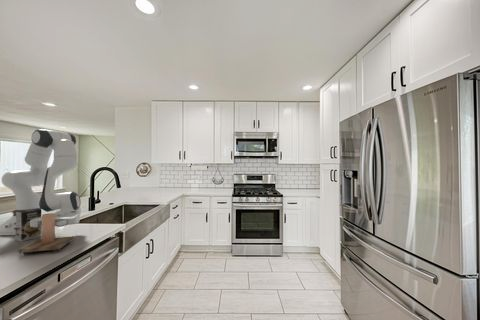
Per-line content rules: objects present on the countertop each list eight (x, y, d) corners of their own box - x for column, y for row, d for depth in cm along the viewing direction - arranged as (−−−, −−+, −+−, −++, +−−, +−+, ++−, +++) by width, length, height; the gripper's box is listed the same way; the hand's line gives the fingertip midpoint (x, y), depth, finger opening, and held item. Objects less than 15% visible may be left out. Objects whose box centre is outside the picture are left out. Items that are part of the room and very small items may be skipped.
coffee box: (21, 241, 119) (22, 212, 119) (14, 240, 121) (15, 211, 121) (41, 236, 127) (41, 209, 127) (35, 235, 129) (35, 208, 130)
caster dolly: (18, 257, 99) (18, 249, 99) (37, 245, 113) (37, 239, 113) (59, 253, 104) (59, 245, 104) (73, 242, 117) (73, 236, 117)
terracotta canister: (38, 244, 105) (39, 215, 106) (45, 241, 110) (45, 213, 110) (51, 243, 107) (51, 215, 107) (56, 240, 111) (57, 213, 112)
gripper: (39, 213, 118) (21, 220, 105) (82, 211, 124) (70, 217, 110) (39, 225, 118) (21, 233, 105) (82, 222, 124) (70, 229, 110)
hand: (47, 225), depth 108 cm, fingers open, 8 cm apart
